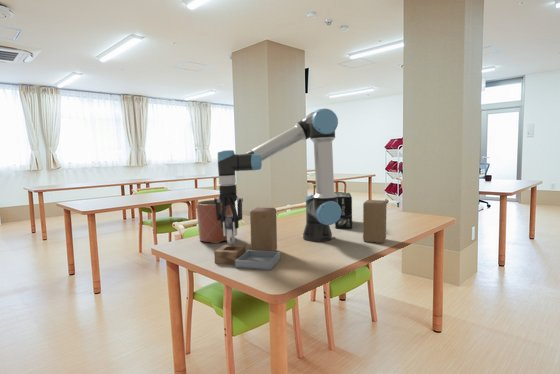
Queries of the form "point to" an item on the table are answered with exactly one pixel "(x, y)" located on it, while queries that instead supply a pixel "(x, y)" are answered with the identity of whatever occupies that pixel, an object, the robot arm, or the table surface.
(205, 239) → the planter
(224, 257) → the block
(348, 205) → the box
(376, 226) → the block
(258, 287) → the table surface
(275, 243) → the wooden block
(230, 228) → the cylinder
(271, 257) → the tray
